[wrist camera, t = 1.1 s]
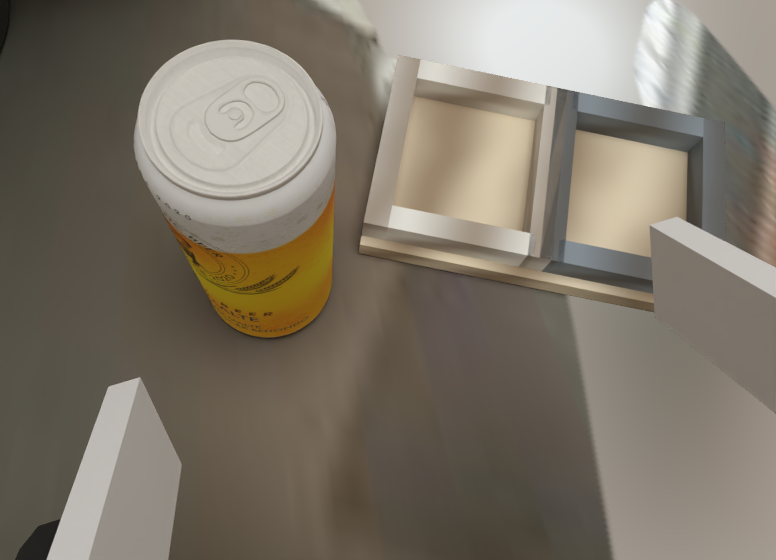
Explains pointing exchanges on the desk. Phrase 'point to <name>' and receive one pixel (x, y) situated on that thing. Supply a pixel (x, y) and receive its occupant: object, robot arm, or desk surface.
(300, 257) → the beer can
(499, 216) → the socket board
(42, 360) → the desk surface
